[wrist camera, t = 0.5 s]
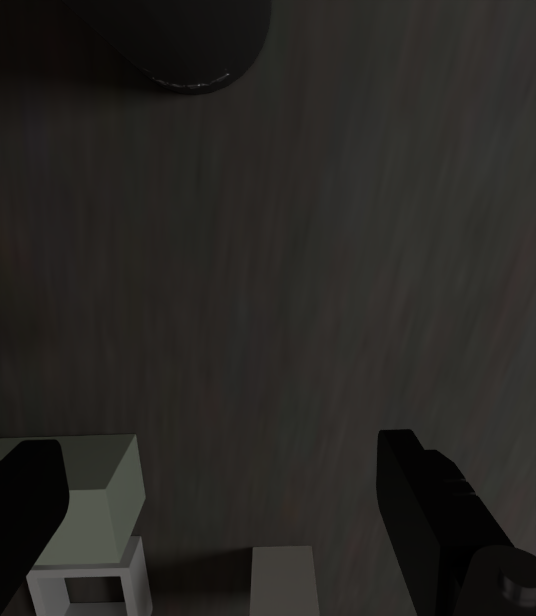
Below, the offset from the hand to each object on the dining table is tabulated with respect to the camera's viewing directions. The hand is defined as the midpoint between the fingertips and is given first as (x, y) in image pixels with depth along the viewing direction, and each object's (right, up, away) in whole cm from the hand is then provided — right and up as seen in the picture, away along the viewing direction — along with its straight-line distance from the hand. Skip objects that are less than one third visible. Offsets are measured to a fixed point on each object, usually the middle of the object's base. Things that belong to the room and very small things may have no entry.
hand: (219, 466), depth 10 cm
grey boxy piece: (-16, -15, +24) cm, 32 cm away
